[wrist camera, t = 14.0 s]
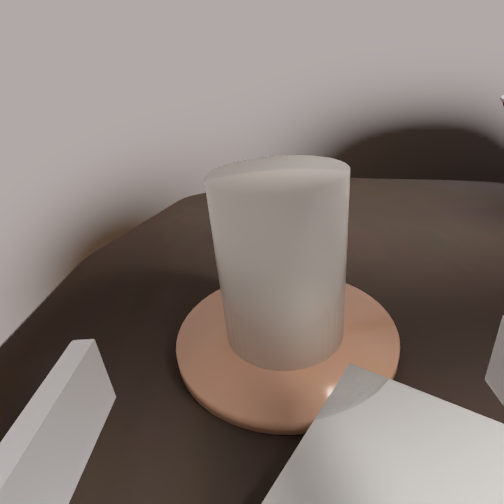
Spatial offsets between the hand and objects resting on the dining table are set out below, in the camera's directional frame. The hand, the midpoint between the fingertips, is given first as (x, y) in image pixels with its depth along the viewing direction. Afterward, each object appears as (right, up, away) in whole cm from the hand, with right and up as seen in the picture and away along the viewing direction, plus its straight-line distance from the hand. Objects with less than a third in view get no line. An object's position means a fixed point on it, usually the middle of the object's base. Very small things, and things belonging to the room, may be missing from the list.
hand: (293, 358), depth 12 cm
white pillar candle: (+1, -2, +13) cm, 13 cm away
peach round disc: (+1, -3, +13) cm, 14 cm away
